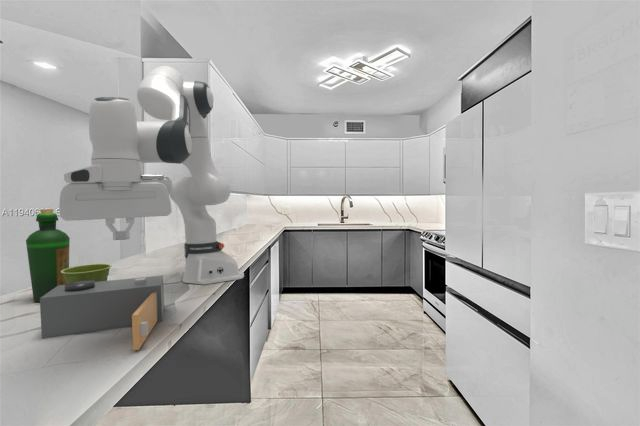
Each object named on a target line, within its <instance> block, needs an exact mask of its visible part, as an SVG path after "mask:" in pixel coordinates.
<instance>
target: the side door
mask: <svg viewBox="0 0 640 426" xmlns="http://www.w3.org/2000/svg"><path fill="white" fill-rule="evenodd" d="M157 321H158V310H157V292H153V293H151V294H150V296H149V297H148V298H147V299H146V300H145V301H144V302H143V303H142V305H141V306H140V307H139V308H138V309H137V310H136V311H135V312H134V314H133V315H132V325H131V329H132V350H133V351H139V350H140V349H141V347H142V345H143V344H144V343H145V341H146V340H147V338H148V336H149V335H150V333H151V331H153V329H154V327H155V325H156V324H157Z"/></svg>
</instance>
